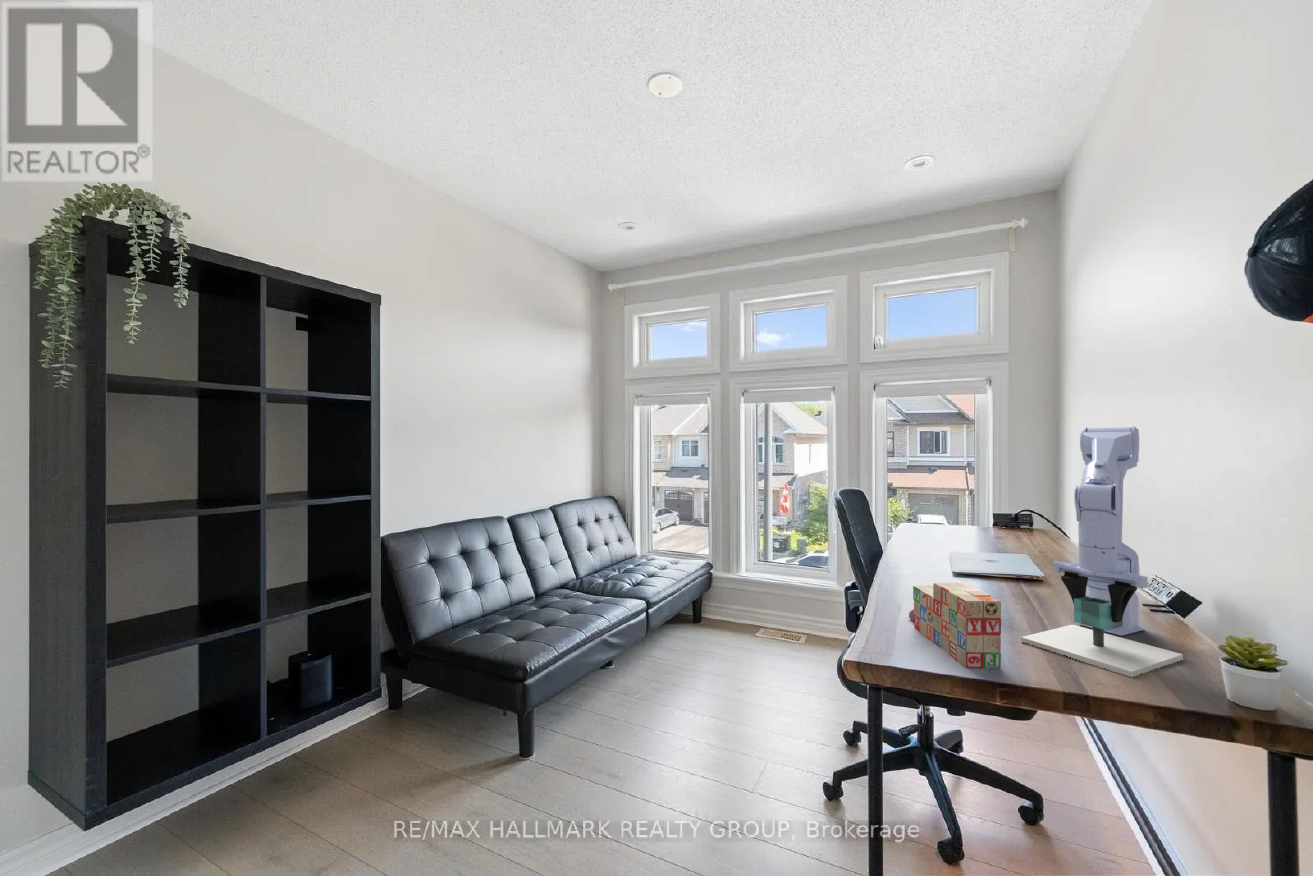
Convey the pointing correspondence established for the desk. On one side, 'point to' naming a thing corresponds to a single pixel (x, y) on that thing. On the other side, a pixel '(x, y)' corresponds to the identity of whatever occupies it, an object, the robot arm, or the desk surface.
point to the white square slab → (1103, 649)
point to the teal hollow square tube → (1094, 613)
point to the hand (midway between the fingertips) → (1098, 616)
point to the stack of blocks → (960, 622)
